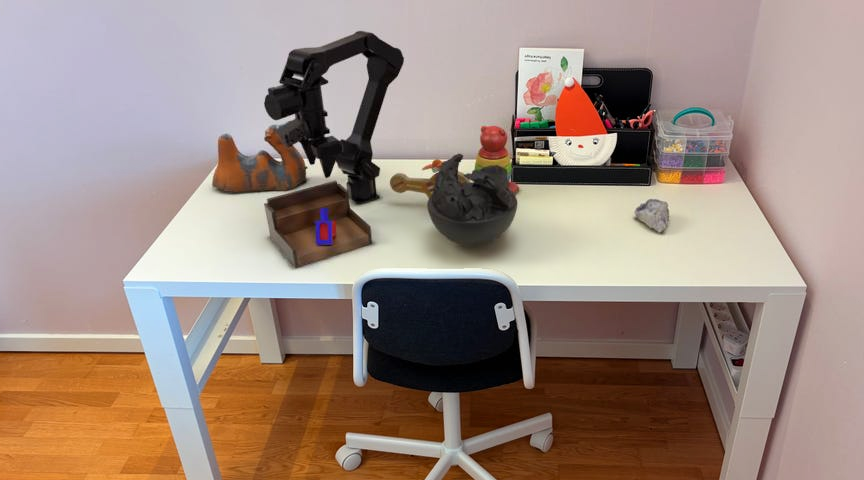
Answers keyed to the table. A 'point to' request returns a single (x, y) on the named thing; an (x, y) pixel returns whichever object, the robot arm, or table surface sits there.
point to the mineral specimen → (653, 214)
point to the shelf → (314, 223)
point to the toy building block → (325, 229)
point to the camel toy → (258, 166)
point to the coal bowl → (472, 204)
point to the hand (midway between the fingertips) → (319, 170)
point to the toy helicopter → (420, 180)
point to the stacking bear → (495, 152)
